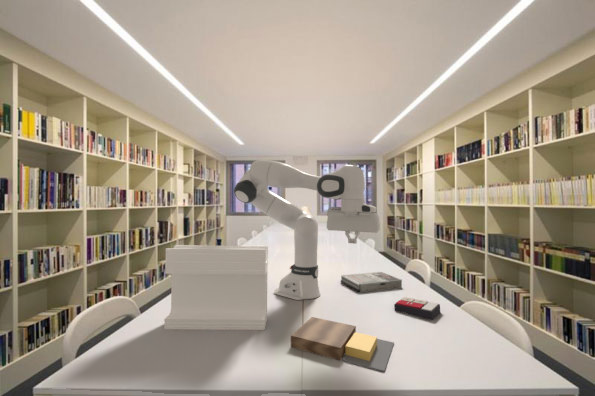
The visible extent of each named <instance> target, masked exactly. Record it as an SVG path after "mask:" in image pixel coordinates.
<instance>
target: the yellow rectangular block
mask: <svg viewBox="0 0 595 396" xmlns="http://www.w3.org/2000/svg"><path fill="white" fill-rule="evenodd" d="M377 339H378V337H377V336H374V335H370V334H365V333H361V332H357V331H356V332H355V333H354V334H353V336H352V337H351V339H350V340H349V342H348V343H347V344H346V346H345V354H344V355H349V356H352V357H356V358H360V359H364V360H367V361H370V359H371V357H372V355H373V353H374V350H375V348H376V346H377Z"/></svg>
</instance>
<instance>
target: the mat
mask: <svg viewBox="0 0 595 396" xmlns="http://www.w3.org/2000/svg"><path fill="white" fill-rule="evenodd" d="M393 347H394V342H393V341H389V340H385V339H380V338H377V346H376V348H375V350H374V353H373V355H372V357H371V359H370V361H367V360H364V359H360V358H356V357H352V356H349V355H345V354H344V356H343V358H342V359H341V361H342V362H345V363H349V364H351V365H357V366H360V367H364V368H367V369H370V370H375V371H378V372H382V373H385V372H386V369H387V365H388V362H389V360H390V356H391V353H392V350H393Z"/></svg>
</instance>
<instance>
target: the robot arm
mask: <svg viewBox="0 0 595 396" xmlns="http://www.w3.org/2000/svg"><path fill="white" fill-rule="evenodd" d="M364 173H365V172H364V171H363V169H362V168H361V167H359V166H358V165H357V166H356V165H352V164H345V165H343V166H342V167H340V168H339V169H338V170H336V171H333V172H331V173H328V174H323V175H322V176H319V175H318V176H317V175H314V174H309V173H306V172H304V171H302V170H300V169H297V168H296V167H293V166H291V165H289V164H286V163H284V162H281V161H276V160H270V159H257V160H254V161H253V162H252V163H251V165H250V167H249V169H248V170H247V171H246V172H245V173H244V174H243V176H241V178H240V180H239V181H238V182H237V183H236V184H235V186H234V189H233V193H234V196H235V198H236V199H237V200H238V201H240V202H241V203H244V204H249V203H250V204H252V205H253V207H255V208H256V209H257V210H258V211H259V212H261V213H263V214H264V215H266V216H268V217H269V218H271V219H273V220H274V221H276V222H278V223H279V224H282V225H284V226H286V227H288V228H289V229H291V230H294V232H293V235H294V236H293V238H294V243H293V244H294V263H293V264H292V265H290V267H289V270H290V272H288V274H287V275H285V276H284V277H282V278H281V279H280V281H279V283H278V284H279V285H278V287H277V288H276V289H274V292H273V293H274V294H275V295H278V296H281V297H284V298H289V299H291V300H296V301H301V300H309V299H310V300H311V299H316V298H319V297H320V296H321V292H320V287H319V281H318V278H319V266H318V244H319V243H318V235H319V234H318V233H319V232H318V231H319V225H318V221H317V219H316V217H315V216H314V215H313V214H311V213H309V212H308V211H305V210H303V209H302V208H301V207H298V206H297V205H295V204H293V203H292V202H290V201H288V200H286V199H284V198H283V197H281V196H279V194H276V193H275V192H272V191H271V190H270V189H269V187H272V188H279V189H297V188H298V189H299V188H300V189H308V190H312V191H317V193H318V194H319V195H320V196H321V197H323V198H325V199H332V200H335V201H337V200H338V201H340V206H337V207H336V206H331V207H329V208H328V209H327V211H326V217H327V220H326V229H327V230H328V231H338V232H339V231H341V232H344V234H345V237H346V238H347V243H348V244H353V245H354V244H355V245H356V244H357V242H358V241H357V240H358V238H359V236H360V233H371V234H372V233H374V234H376V233H379V232H380V230H381V223H380V222H381V221H380V217H379V214H378V213H377V209H378V208H377V206H374V205H371V204H369V203H366V202H365V195H364V191H365V175H364ZM268 186H269V187H268ZM351 232H354V235H355V236H354V238H353V237H352V238H351V235H350V234H351Z"/></svg>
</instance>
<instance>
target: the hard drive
mask: <svg viewBox="0 0 595 396" xmlns="http://www.w3.org/2000/svg"><path fill="white" fill-rule="evenodd" d="M402 282H403V279H401V278H398V277H396V276H393V275H390V274H388V273H385V272H382V271H377V272H376V271H375V272H366V273H365V272H364V273H354V274H353V273H352V274H341V279H340V283H341V284H342V285H344V286H346V287H347V288H349V289H351V290H352V291H353V290H354V291H355V292H356V293H366V292H375V291H383V290H384V291H385V290H392V289H401V288H402V286H403V284H402Z"/></svg>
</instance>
